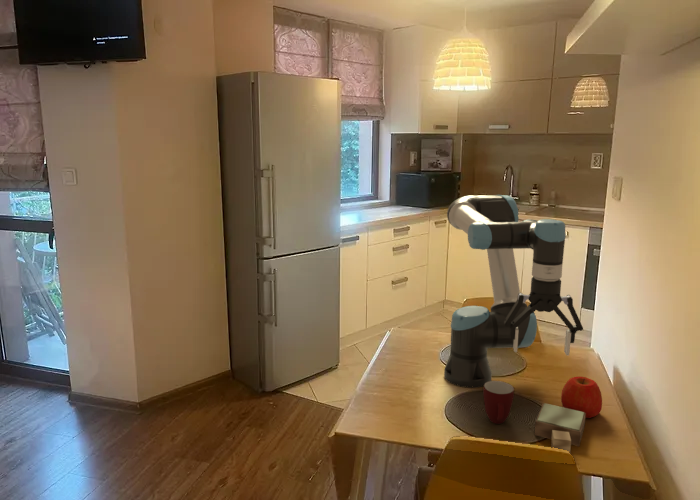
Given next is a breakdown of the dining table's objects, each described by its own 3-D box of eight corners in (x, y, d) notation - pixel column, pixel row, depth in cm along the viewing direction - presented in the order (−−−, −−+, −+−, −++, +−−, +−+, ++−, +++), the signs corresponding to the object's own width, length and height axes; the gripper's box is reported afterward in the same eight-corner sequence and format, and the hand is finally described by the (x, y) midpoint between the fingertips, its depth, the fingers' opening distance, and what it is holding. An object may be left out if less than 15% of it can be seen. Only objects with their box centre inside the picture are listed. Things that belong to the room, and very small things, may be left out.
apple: (560, 418, 149) (562, 383, 146) (559, 400, 159) (562, 367, 156) (602, 425, 145) (606, 389, 143) (599, 406, 155) (602, 372, 153)
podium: (534, 434, 140) (535, 420, 140) (542, 416, 150) (543, 402, 149) (579, 446, 135) (580, 431, 134) (584, 426, 144) (585, 411, 143)
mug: (518, 433, 141) (520, 398, 139) (488, 433, 141) (490, 398, 139) (507, 412, 152) (509, 380, 150) (479, 412, 152) (480, 380, 150)
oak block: (552, 452, 133) (554, 438, 132) (551, 444, 136) (552, 429, 136) (569, 455, 132) (571, 440, 131) (567, 446, 135) (569, 432, 135)
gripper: (499, 279, 140) (495, 354, 145) (600, 283, 136) (592, 360, 141) (497, 272, 147) (493, 343, 152) (592, 275, 143) (585, 349, 148)
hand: (540, 351), depth 146 cm, fingers open, 13 cm apart
